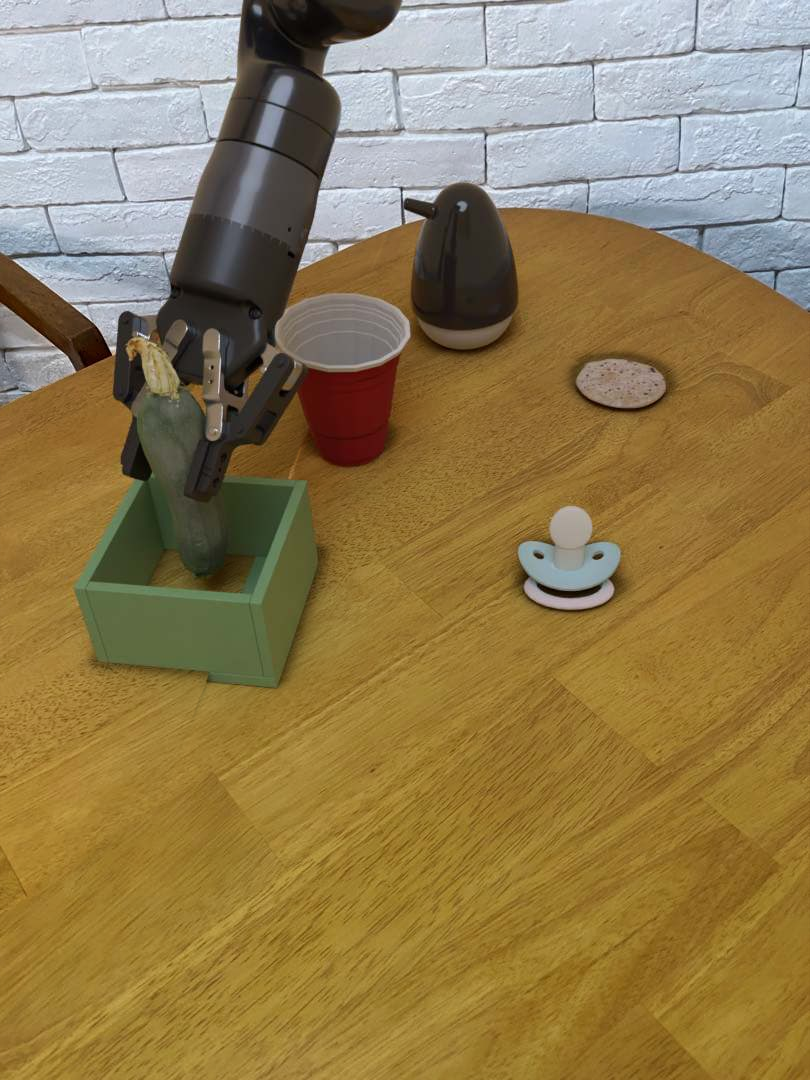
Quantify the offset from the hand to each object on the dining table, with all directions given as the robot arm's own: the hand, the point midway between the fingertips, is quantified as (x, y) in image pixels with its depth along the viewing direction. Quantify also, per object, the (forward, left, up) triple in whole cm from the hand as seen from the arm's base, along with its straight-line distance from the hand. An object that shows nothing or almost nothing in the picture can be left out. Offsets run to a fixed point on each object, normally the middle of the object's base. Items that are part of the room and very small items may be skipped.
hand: (165, 487), depth 72 cm
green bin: (+1, +2, -13) cm, 13 cm away
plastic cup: (+7, +23, -13) cm, 27 cm away
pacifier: (+26, +8, -13) cm, 30 cm away
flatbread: (+29, +34, -13) cm, 46 cm away
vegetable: (+1, +2, -10) cm, 10 cm away
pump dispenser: (+14, +42, -13) cm, 46 cm away
